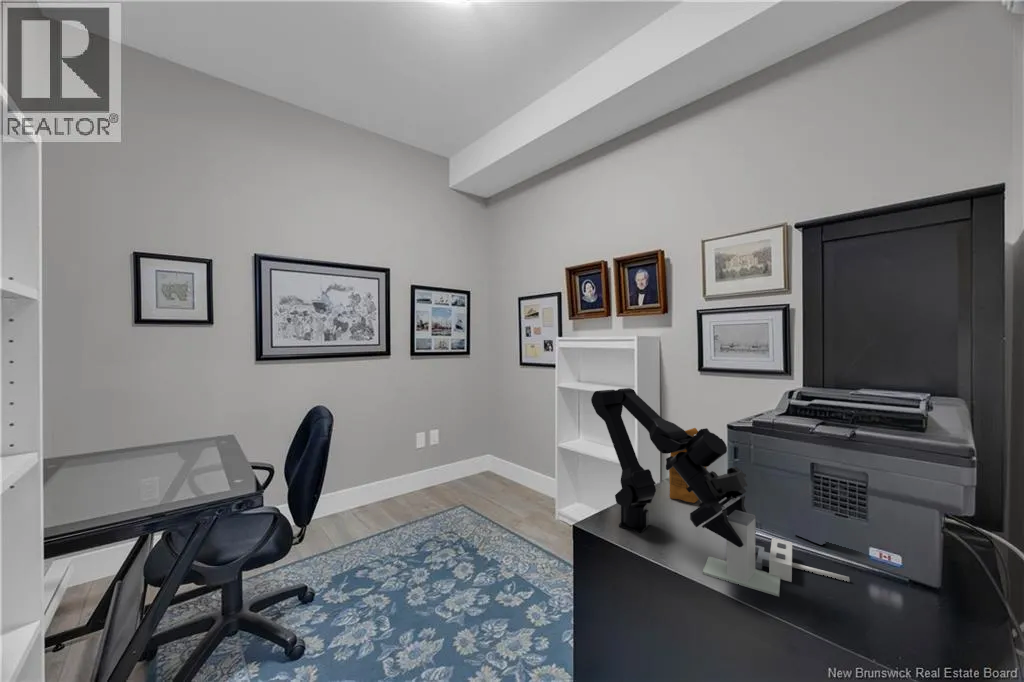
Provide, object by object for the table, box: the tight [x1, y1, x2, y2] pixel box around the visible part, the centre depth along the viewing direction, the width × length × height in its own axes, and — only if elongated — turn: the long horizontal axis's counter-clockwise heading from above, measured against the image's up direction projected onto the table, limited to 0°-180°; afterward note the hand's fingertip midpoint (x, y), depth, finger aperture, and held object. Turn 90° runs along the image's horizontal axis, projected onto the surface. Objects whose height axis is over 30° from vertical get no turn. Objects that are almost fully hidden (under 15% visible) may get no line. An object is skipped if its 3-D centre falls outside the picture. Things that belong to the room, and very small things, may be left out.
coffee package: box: [668, 427, 708, 504], centre depth 133 cm, size 10×12×22 cm
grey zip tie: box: [755, 537, 850, 583], centre depth 92 cm, size 22×12×4 cm, turn 55°
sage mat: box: [702, 556, 781, 598], centre depth 89 cm, size 14×8×1 cm, turn 55°
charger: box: [726, 510, 756, 583], centre depth 89 cm, size 4×6×12 cm
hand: (748, 539), depth 88 cm, fingers open, 8 cm apart
